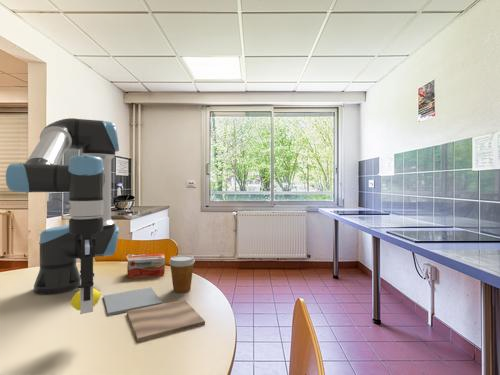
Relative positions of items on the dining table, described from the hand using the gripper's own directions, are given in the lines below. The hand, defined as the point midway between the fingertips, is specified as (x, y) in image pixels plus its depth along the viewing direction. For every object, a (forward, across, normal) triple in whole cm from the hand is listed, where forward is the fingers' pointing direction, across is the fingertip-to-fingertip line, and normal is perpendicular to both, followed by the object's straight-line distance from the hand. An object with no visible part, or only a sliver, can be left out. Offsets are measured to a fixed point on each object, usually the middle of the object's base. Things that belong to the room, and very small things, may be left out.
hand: (86, 307), depth 73 cm
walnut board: (+8, 0, +20) cm, 21 cm away
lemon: (+1, 0, 0) cm, 1 cm away
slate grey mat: (+8, -19, +14) cm, 25 cm away
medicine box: (+9, -48, +25) cm, 55 cm away
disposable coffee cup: (+9, -21, +32) cm, 39 cm away
